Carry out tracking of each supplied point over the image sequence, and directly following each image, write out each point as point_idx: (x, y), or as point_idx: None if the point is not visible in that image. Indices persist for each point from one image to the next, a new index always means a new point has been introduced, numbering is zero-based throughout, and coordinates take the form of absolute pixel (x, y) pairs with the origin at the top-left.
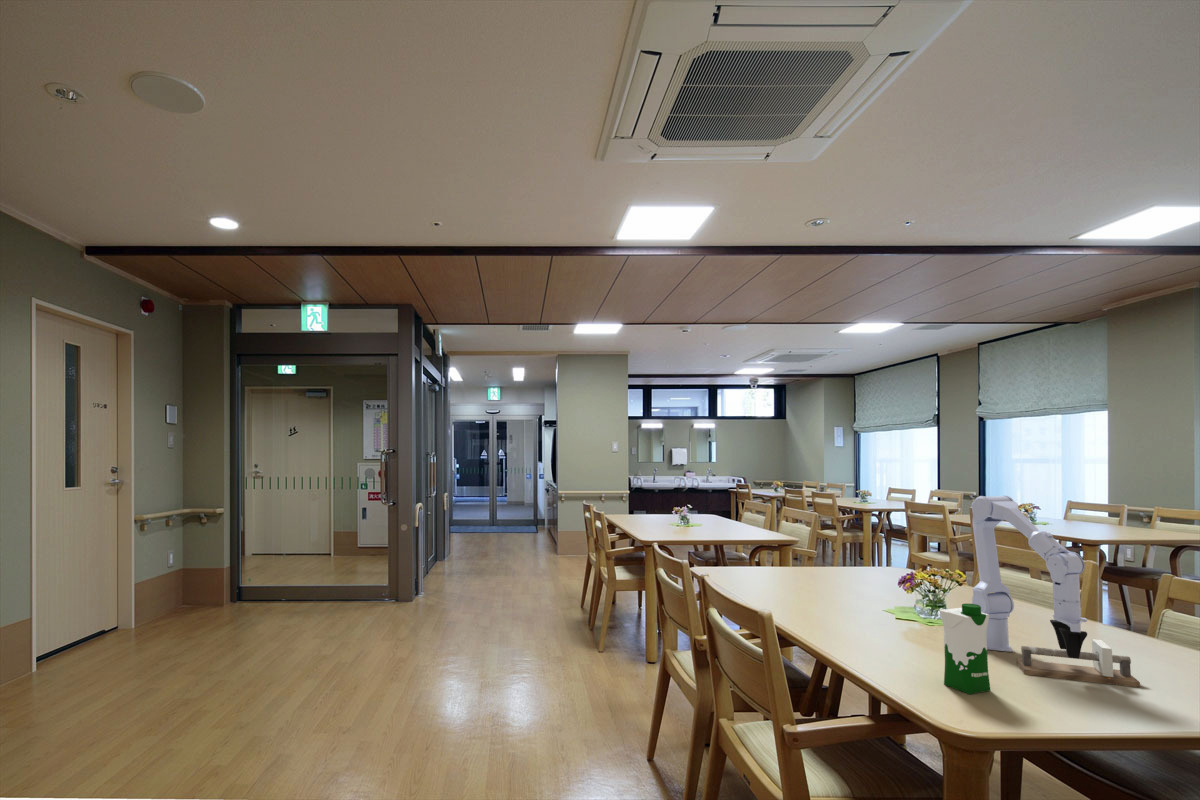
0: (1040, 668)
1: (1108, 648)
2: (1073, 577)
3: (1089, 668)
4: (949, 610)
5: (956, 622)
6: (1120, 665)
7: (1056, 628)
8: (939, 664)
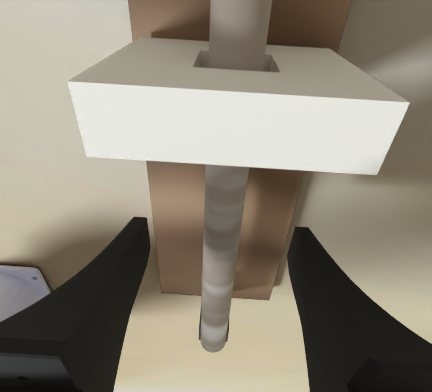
0: (245, 266)
1: (395, 128)
2: None
3: None
4: None
5: None
6: None
7: (116, 360)
8: (242, 379)
